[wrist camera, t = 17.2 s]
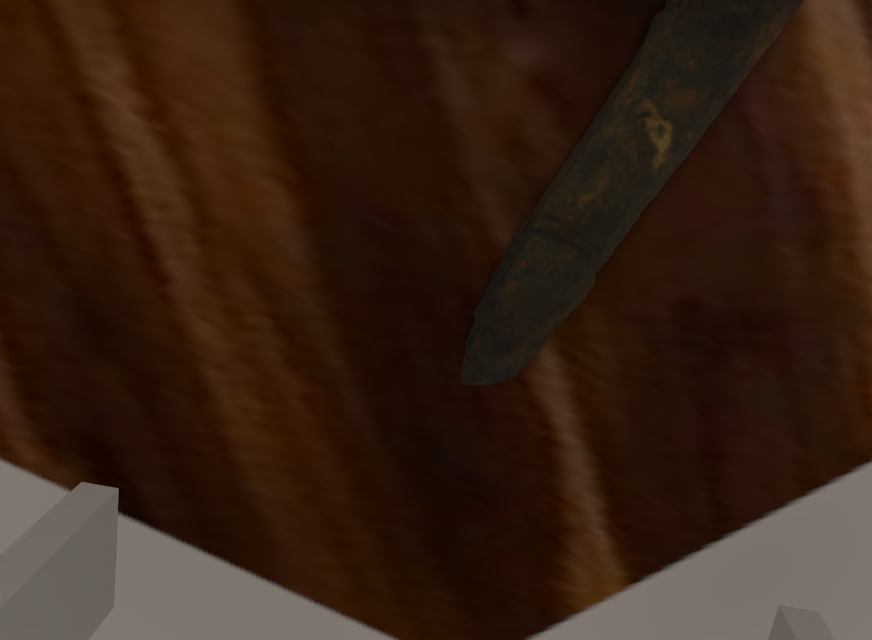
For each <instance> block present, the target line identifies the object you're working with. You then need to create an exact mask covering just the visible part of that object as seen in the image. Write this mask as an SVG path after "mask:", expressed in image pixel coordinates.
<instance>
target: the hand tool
mask: <svg viewBox="0 0 872 640" xmlns="http://www.w3.org/2000/svg"><path fill="white" fill-rule="evenodd" d="M803 1H804V0H667V1H666V2H665V6H666V7H665V8H663V9H662V10H661V11H659V12H658V13H657V14H656V15H655V17H654V19H653V21H652V23H651V25H650V27H649V30H648V32H647V35H646V38H645V41H644V43H643V45H642V46H641V47H640V49H639V50H638V52H637V53H636V55H635V56H634V58H633V60H632V62H631V64H630V65H629V67H628V68H627V70H626V71H625V72H624V74H623V75H622V77H621V79H620V80H619V82H618V83H617V85H616V86H615V88H614V89H613V91H612V92H611V94H610V95H609V97H608V98H607V100H606V102H605V103H604V105H603V106H602V108H601V109H600V111H599V112H598V114H597V116H596V117H595V119H594V120H593V122H592V123H591V125H590V126H589V128H588V129H587V131H586V133H585V134H584V136H583V137H582V139H581V140H580V141H579V143H578V144H577V145H576V147H575V148H574V149H573V151H572V152H571V154H570V155H569V157H568V158H567V160H566V161H565V163H564V164H563V166H562V167H561V169H560V170H559V172H558V173H557V175H556V177H555V178H554V180H553V181H552V183H551V184H550V186H549V187H548V189H547V190H546V192H545V193H544V195H543V196H542V198H541V199H540V201H539V203H538V204H537V206H536V208H535V209H534V211H533V212H532V214H531V215H530V216H529V217H528V219H527V220H526V221H525V222H524V224H523V225H522V226H521V228H520V229H519V231H518V232H517V234H516V235H515V237H514V238H513V240H512V241H511V243H510V244H509V246H508V250H507V251H506V253H505V255H504V256H503V258H502V260H501V262H500V263H499V265H498V267H497V268H496V270H495V272H494V274H493V276H492V277H491V279H490V281H489V283H488V287H487V288H486V291H485V293H484V296H483V298H482V300H481V301H480V302H479V304H478V305H477V307H476V309H475V311H474V313H473V317H474V319H475V321H474V322H473V326H472V328H471V330H470V333H469V336H468V338H467V340H466V342H465V350H466V353H465V356H464V360H463V364H462V370H461V375H460V380H461V383H462V384H463V385H467V384H470V385H485V386H488V385H491V384H495V383H502V382H504V381H507V380H512V379H513V378H514V377H515V376H516V375H517V373H518V372H519V371H520V370H521V369H522V368H523V367H524V366H525V365H526V364H527V363H528V361H529V360H530V359H531V358H532V357H533V356H534V355H535V354H536V353H537V352H538V351H539V350H540V349H541V348H542V347H544V346H545V344H546V342H547V340H548V339H549V337H550V335H551V333H552V332H553V331H554V330H555V329H556V328H557V327H558V326H559V325H560V324H561V323H562V322H563V321H564V320H565V319H566V318H567V317H568V316H569V315H570V313H571V312H572V311H573V310H574V309H575V308H576V307H577V306H579V305H580V304H581V303H582V302H583V300H584V299H585V297H586V295H587V294H588V292H589V290H590V289H591V288H592V287H593V285H594V283H595V281H596V277H595V274H596V273H597V272H598V271H599V269H600V268H601V267H602V266H603V264H604V263H605V262H606V261H607V260H608V259H609V258H610V256H611V255H612V253H613V252H614V251H615V249H616V248H617V247H618V245H619V244H620V242H621V241H622V239H623V238H624V237H625V235H626V234H627V232H628V231H629V230H630V228H631V227H632V226H633V224H634V223H635V222H636V220H637V219H638V218H639V216H640V214H641V212H642V211H643V210H644V208H645V207H646V206H647V205H648V204H649V203H650V201H651V200H652V199H653V198H654V197H655V196H656V195H657V194H658V193H659V191H660V190H661V188H662V187H663V185H664V184H665V182H666V181H667V180H668V178H669V177H670V176H671V174H672V173H673V172H674V171H675V169H676V168H677V167H678V166H679V165H680V164H681V163H682V162H683V160H684V159H685V158H686V157H687V155H688V154H689V153H690V151H691V150H692V149H693V148H694V146H695V145H696V143H697V142H698V141H699V139H700V138H701V136H702V135H703V134H704V132H705V131H706V130H707V128H708V127H709V126H710V124H711V123H712V122H713V120H714V119H715V118H716V117H717V115H718V114H719V113H720V111H721V110H722V109H723V107H724V106H725V105H726V103H727V102H728V101H729V99H730V98H731V97H732V95H733V94H734V93H735V92H736V90H737V89H738V87H739V86H740V85H741V83H742V82H743V81H744V79H745V78H746V77H747V76H748V74H749V73H750V72H751V70H752V69H753V68H754V66H755V65H756V63H757V62H758V61H759V60H760V58H761V57H762V56H763V55H764V53H765V52H766V51H767V49H768V48H769V47H770V45H771V44H772V43H773V42H774V40H775V39H776V38H777V36H778V35H779V33H780V32H781V31H782V29H783V28H784V27H785V25H786V24H787V22H788V21H789V20H790V18H791V17H792V16H793V14H794V13H795V12H796V10H797V9H798V7H799V6H800V5H801V3H802V2H803Z"/></svg>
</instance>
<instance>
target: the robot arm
mask: <svg viewBox="0 0 872 640" xmlns="http://www.w3.org/2000/svg"><path fill="white" fill-rule="evenodd" d="M118 494H119V488H113V487H108V486H102V485H96V484H91V483H85V482H81V483H80V484H79V485H78V486H77V487H75V488H74V489H73V490H72V491H71V492H70V493H69V494H68V495H67V496H66V497H64V498H63V499H62V500H61V501H60V502H59V503H58V504H57V505H56V506H54V507H53V508H52V509H51V510H50V511H49V512H48V513H47V514H46V515H44V516H43V517H42V518H41V519H40V520H39V521H38V522H37V523H36V524H35V525H33V526H32V527H31V528H30V529H29V530H28V531H27V532H26V533H25V534H23V535H22V536H21V537H20V538H19V539H18V540H17V541H16V542H15V543H14V544H12V545H11V546H10V547H9V548H8V549H7V550H6V551H5V552H4V553H3V554H1V555H0V640H88V639H89V638H90V637H91V635H92V634H93V633H94V631H95V630H96V629H97V627H98V626H99V625H100V624H101V622H102V621H103V620H104V618H105V617H106V616H107V615H108V613H109V612H110V610H111V609H112V608H113V607H114V586H115V564H116V539H117V518H118ZM769 640H835V638H834V637H833V635H832V634H831V632H830V630H829V628H828V627H827V625H826V623H825V622H824V620H823V618H822V617H821V615H820V614H819V612H814V611H809V610H803V609H797V608H791V607H786V606H780V605H779V607H778V610H777V614H776V617H775V620H774V623H773V626H772V630H771V633H770V636H769Z"/></svg>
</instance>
